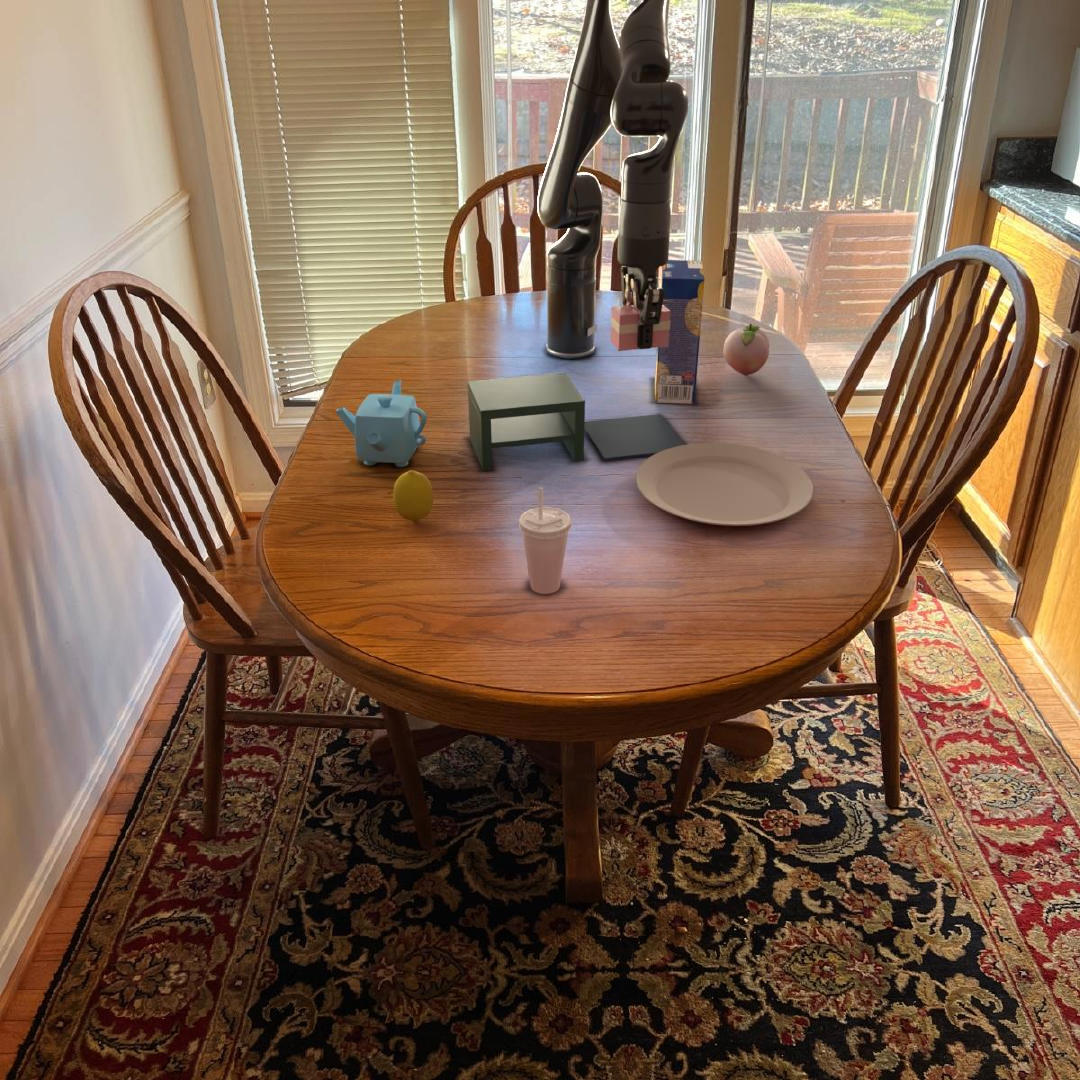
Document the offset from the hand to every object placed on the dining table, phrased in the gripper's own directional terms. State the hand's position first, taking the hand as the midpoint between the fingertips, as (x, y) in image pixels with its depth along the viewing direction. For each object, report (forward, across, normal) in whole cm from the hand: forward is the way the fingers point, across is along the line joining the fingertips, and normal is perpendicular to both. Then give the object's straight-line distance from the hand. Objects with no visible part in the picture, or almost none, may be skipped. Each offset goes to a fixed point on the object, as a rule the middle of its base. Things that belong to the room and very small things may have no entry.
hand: (639, 342), depth 156 cm
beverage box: (+16, +17, -13) cm, 27 cm away
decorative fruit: (+17, +21, -28) cm, 39 cm away
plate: (+17, -21, -7) cm, 28 cm away
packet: (0, 0, 0) cm, 0 cm away
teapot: (+16, +3, +40) cm, 44 cm away
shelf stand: (+16, 0, +18) cm, 24 cm away
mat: (+16, 0, 0) cm, 16 cm away
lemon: (+17, -19, +38) cm, 46 cm away
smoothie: (+17, -39, +24) cm, 49 cm away
